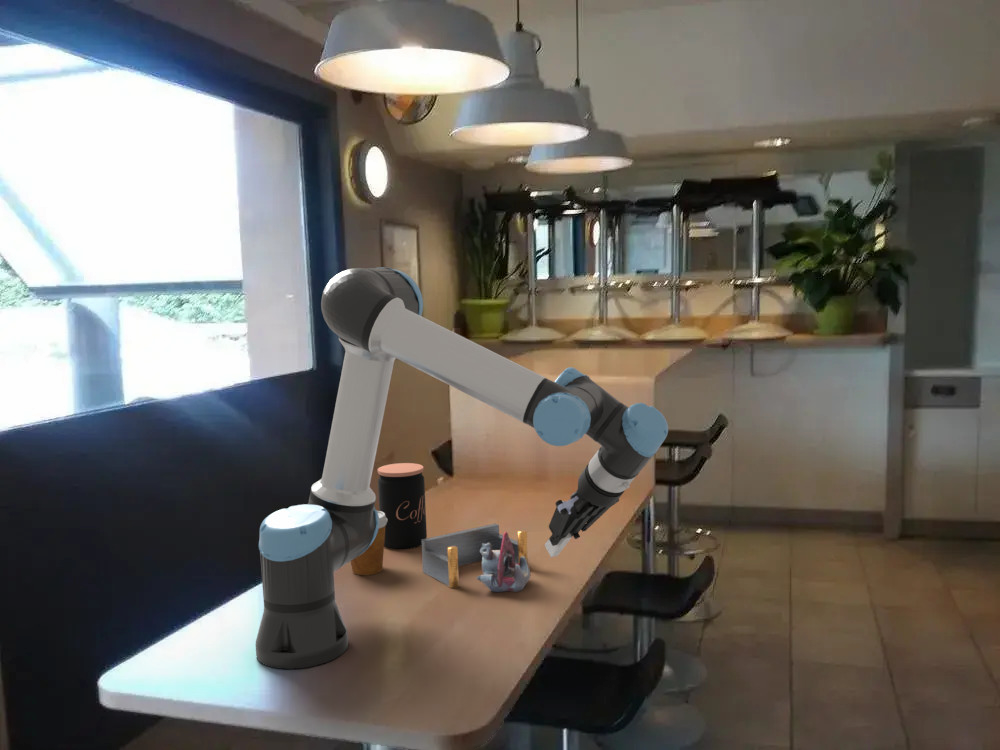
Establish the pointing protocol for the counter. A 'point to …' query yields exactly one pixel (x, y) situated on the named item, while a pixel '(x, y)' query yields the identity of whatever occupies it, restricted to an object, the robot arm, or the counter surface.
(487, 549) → the brake caliper
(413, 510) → the coffee jar
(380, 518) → the disposable coffee cup
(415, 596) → the counter surface
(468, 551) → the bracket
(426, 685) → the counter surface
